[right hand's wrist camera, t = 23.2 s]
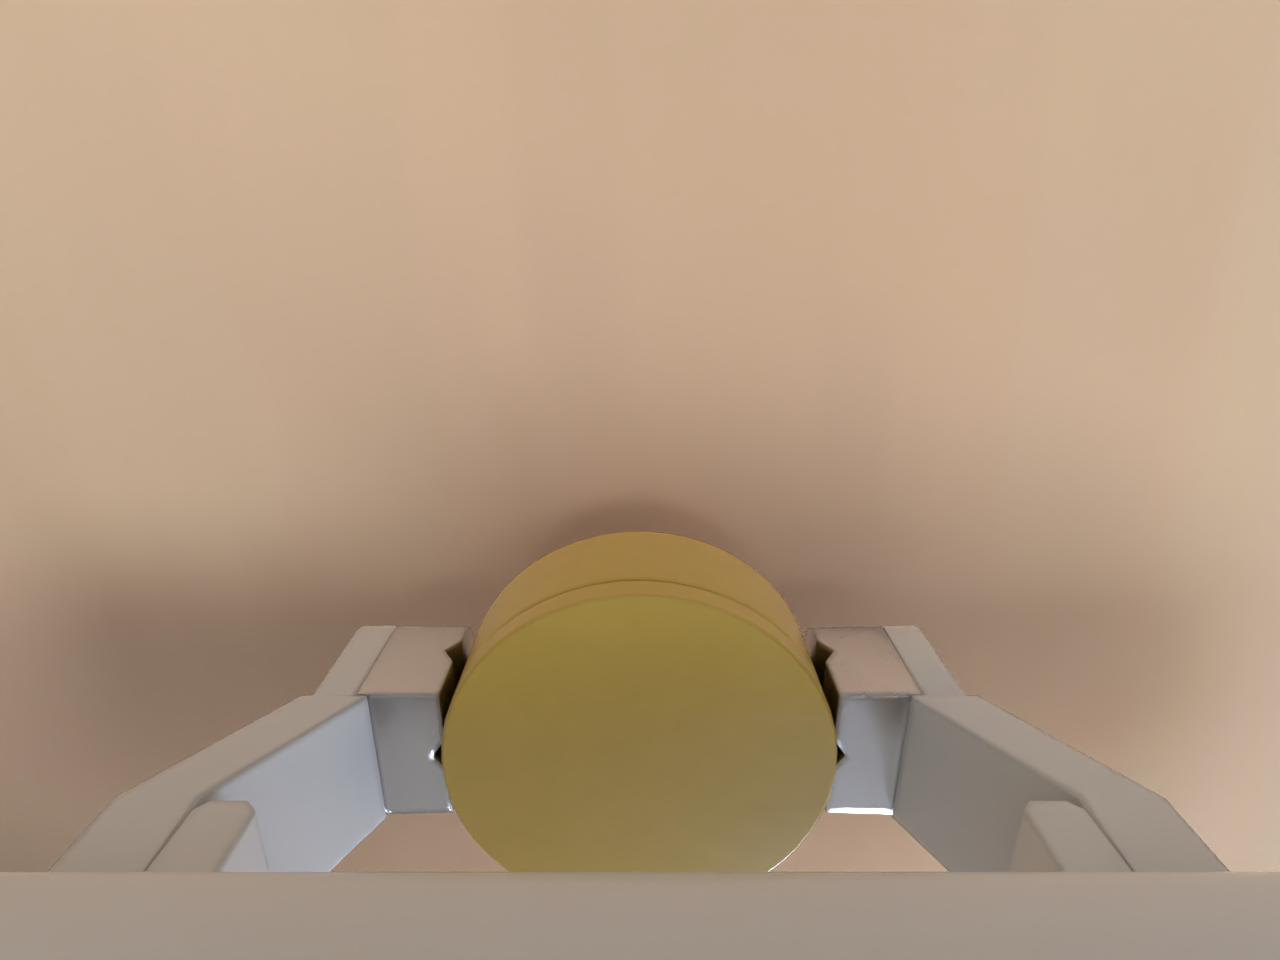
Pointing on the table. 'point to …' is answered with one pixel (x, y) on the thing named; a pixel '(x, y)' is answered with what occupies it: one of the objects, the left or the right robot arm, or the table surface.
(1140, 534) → the table surface
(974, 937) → the right robot arm
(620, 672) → the lid
